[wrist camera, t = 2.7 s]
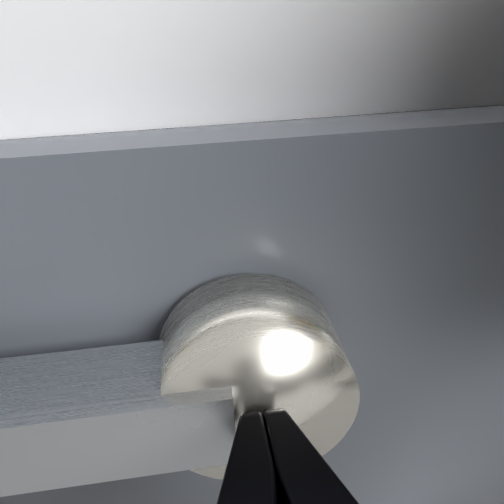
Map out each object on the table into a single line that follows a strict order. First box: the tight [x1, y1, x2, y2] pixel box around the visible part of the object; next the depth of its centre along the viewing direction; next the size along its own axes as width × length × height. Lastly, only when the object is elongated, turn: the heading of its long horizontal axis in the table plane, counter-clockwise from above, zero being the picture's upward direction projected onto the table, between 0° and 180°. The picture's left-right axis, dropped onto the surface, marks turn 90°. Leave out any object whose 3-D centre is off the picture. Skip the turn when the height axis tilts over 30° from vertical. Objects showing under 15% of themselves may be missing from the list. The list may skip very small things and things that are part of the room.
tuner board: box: [0, 105, 504, 504], centre depth 13 cm, size 20×18×1 cm
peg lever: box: [0, 273, 360, 497], centre depth 9 cm, size 13×4×2 cm, turn 92°
